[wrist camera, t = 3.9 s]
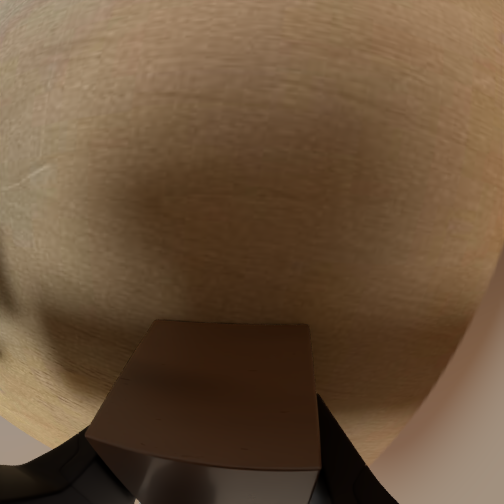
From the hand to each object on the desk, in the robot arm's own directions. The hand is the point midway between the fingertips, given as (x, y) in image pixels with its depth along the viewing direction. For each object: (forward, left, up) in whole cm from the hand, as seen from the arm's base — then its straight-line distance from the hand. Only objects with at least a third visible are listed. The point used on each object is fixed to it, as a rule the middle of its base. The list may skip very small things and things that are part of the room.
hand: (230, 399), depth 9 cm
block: (0, 0, -1) cm, 1 cm away
